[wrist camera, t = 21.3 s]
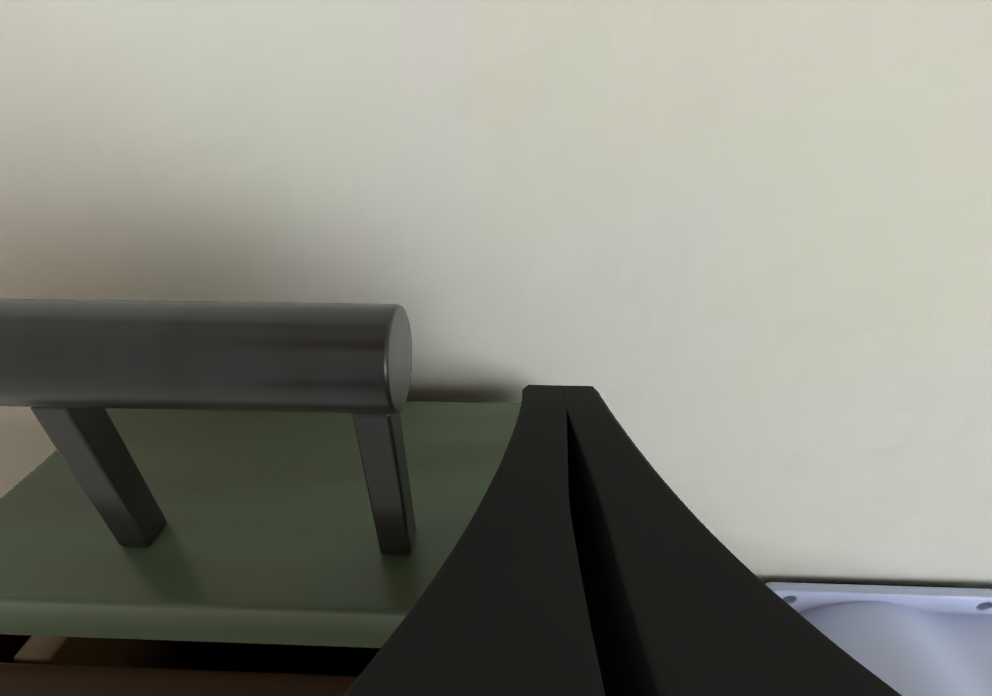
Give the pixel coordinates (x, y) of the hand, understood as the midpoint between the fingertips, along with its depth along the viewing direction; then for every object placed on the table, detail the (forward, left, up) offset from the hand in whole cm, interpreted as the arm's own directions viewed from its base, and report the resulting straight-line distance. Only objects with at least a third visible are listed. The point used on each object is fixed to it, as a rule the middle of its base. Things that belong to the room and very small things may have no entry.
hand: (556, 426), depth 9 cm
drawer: (+6, +6, -3) cm, 8 cm away
